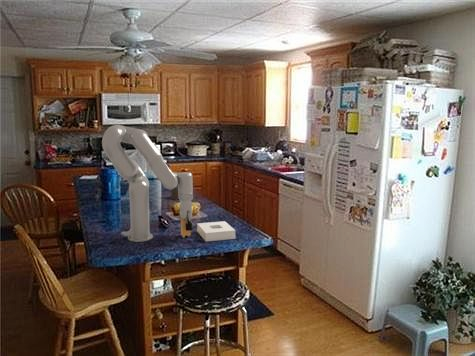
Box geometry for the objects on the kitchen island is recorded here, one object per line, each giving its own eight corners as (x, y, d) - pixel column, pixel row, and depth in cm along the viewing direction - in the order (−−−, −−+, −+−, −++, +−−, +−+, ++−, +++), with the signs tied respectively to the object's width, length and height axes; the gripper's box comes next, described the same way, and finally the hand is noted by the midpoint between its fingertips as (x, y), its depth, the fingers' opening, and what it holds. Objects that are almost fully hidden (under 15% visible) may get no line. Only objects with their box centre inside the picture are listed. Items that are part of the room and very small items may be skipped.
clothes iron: (190, 201, 292) (190, 183, 289) (170, 199, 296) (170, 181, 294) (195, 198, 299) (194, 181, 297) (175, 197, 304) (175, 179, 302)
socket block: (205, 241, 204) (205, 233, 203) (197, 231, 221) (197, 223, 220) (235, 238, 209) (235, 230, 209) (224, 228, 226) (224, 221, 225)
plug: (182, 238, 209) (182, 219, 207) (180, 235, 213) (180, 217, 211) (190, 237, 210) (190, 218, 209) (188, 235, 214) (188, 216, 212)
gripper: (175, 193, 215) (176, 224, 218) (182, 200, 199) (183, 233, 202) (189, 192, 217) (190, 222, 220) (196, 199, 201) (197, 231, 204)
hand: (186, 227), depth 211 cm, fingers open, 9 cm apart
